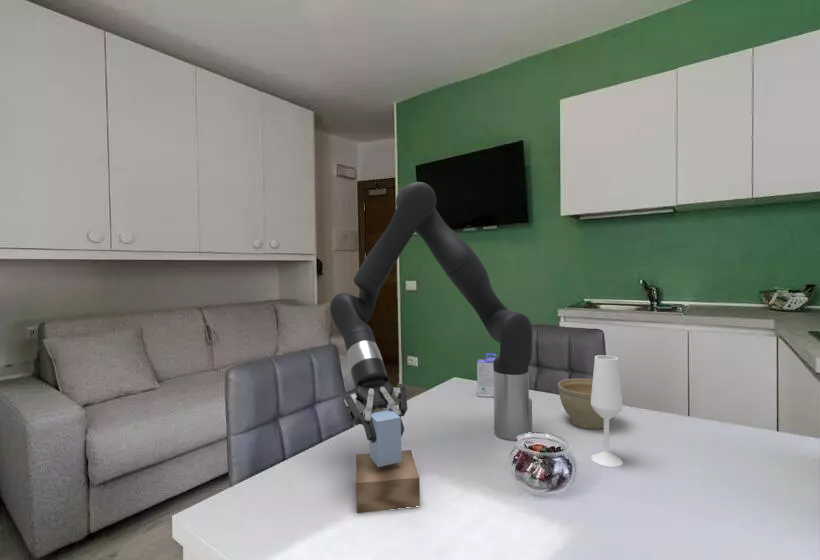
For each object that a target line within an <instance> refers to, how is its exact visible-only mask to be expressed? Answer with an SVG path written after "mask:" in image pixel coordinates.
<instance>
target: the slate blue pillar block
mask: <svg viewBox="0 0 820 560" xmlns="http://www.w3.org/2000/svg"><path fill="white" fill-rule="evenodd" d="M401 419H402V416H401V417H399V416H398V415H397V414H396V413H395V412H393V411H392V410H387V411H385V410H382V411H376V412H371V419H370V420H371V421H372V422H373V426H374V430H375V433H376V441H375V442H374V443H371V441H370V440H368V442H369V444H368V445H369V453H370V458H371V459H372V460H373V461H374V463H375V464H376V465H377V467H381V466H386V465H390V464H394V463H399V462H402V457H401V451H402V436H401Z"/></svg>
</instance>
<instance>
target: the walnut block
mask: <svg viewBox="0 0 820 560" xmlns="http://www.w3.org/2000/svg"><path fill="white" fill-rule="evenodd" d="M401 457H402V462H399V463H394V464H390V465H386V466H381V467H377V465H376V464H375V463H374V461H373V460H372V459H371V458H370V452H369V453H358V454H355V494H356V497H355V499H356V513H357V514H361V513H362V514H363V513H372V512H382V511H381V510H385V511H390V510H389V509H395V510H399V509H398V508H405V509H407V508H406V507H416V506H420V507H421V496H420V495H421V494H420V493H421V492H420V490H421V489H420V488H421V487H420V475H419V471H418V469H417V466H416V463H415V462H416V461H415V458H414V455H413V452H412V449H410V450H409V449H408V450H407V449H406V450H401ZM416 508H417V507H416Z"/></svg>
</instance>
